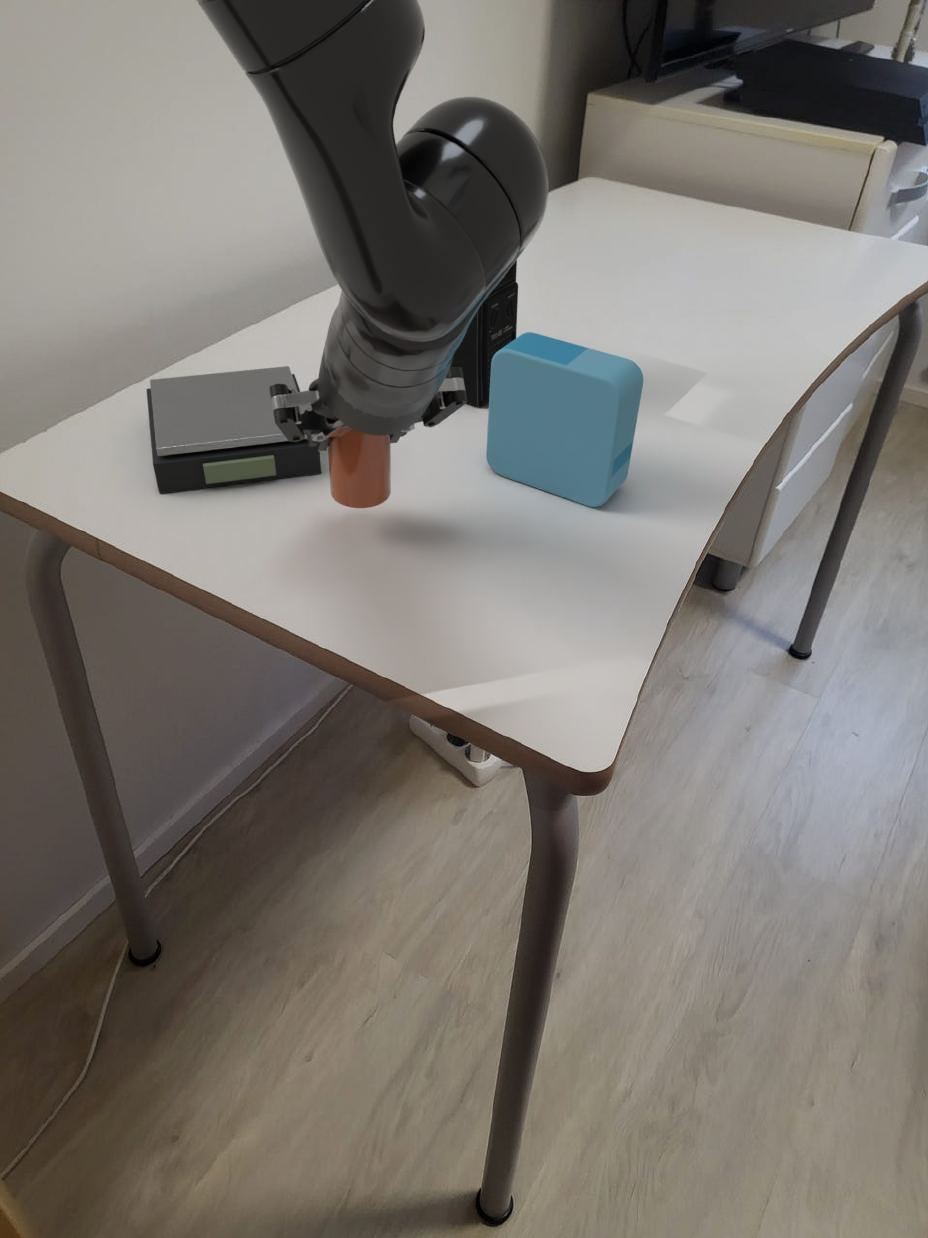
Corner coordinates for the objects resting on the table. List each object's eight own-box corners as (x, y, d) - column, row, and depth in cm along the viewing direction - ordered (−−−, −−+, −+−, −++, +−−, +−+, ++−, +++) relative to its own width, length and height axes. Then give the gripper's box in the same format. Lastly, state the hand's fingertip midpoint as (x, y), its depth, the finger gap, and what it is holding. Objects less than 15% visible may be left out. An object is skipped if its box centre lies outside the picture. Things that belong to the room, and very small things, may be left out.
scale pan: (158, 456, 79) (156, 448, 78) (151, 387, 88) (149, 379, 88) (312, 438, 82) (311, 430, 81) (289, 373, 91) (289, 365, 91)
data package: (626, 489, 83) (647, 362, 75) (604, 513, 80) (624, 383, 72) (508, 450, 88) (517, 326, 80) (484, 471, 85) (490, 345, 77)
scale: (159, 497, 80) (153, 466, 78) (152, 416, 90) (146, 388, 88) (322, 476, 83) (320, 446, 81) (296, 401, 94) (294, 373, 92)
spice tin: (335, 512, 73) (330, 420, 68) (324, 479, 76) (319, 389, 71) (398, 505, 74) (398, 413, 69) (384, 472, 78) (383, 383, 72)
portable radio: (478, 414, 93) (491, 138, 77) (428, 397, 95) (430, 126, 79) (518, 385, 98) (539, 121, 82) (470, 369, 100) (480, 110, 84)
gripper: (486, 289, 59) (434, 380, 76) (258, 306, 56) (255, 397, 72) (507, 404, 59) (450, 470, 75) (278, 428, 56) (270, 492, 72)
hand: (354, 434), depth 74 cm, fingers closed on spice tin, 5 cm apart
